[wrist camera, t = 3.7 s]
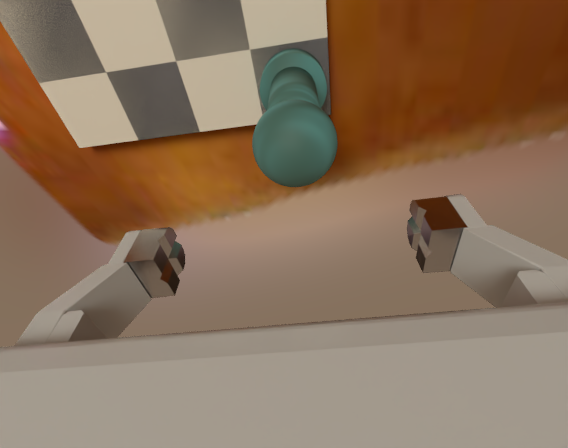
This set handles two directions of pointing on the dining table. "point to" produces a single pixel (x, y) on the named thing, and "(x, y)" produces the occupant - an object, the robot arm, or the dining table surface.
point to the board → (159, 60)
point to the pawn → (294, 121)
